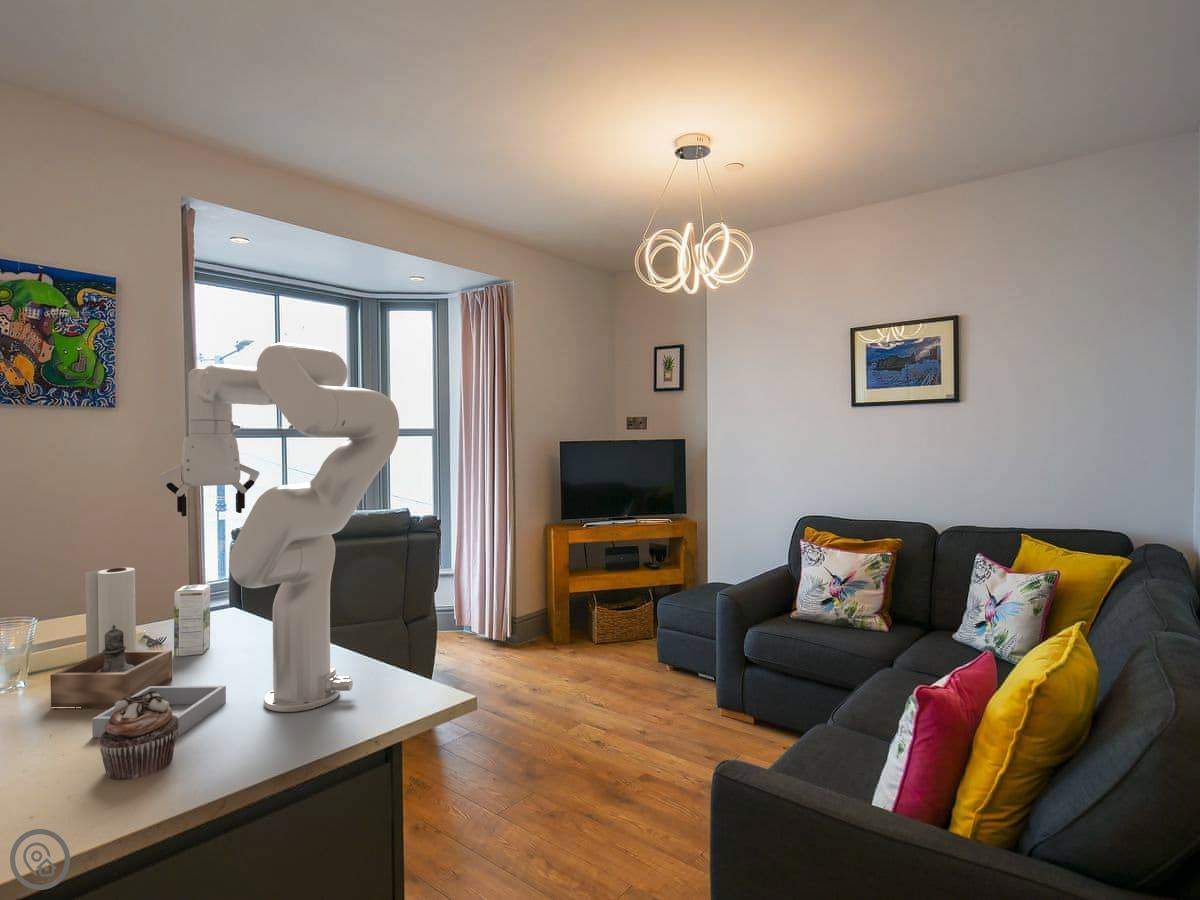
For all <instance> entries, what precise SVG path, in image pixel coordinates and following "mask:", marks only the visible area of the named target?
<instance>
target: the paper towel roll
mask: <svg viewBox="0 0 1200 900" xmlns="http://www.w3.org/2000/svg"><path fill="white" fill-rule="evenodd" d="M136 609H137V608H136V569H135V568H134V567H115V568H107V569H101V570H94V571H89V572H85V630H86V632H85V633H86V635H85V637H86V639H85V640H86V642H85V643H86V659H88V658H90V657H92V656H95V655H97V654H99V653H101V652H102V651H103V650H104V649H105V634H106V632H108V631H110V630H111V629H112V626H113V625H115V626H116V627H115V628H116V629H119V630H122V631H123V633H124V646H125V647H126V649H125V650H124V651H137V633H136V632H137V629H136V627H137V622H136V621H137V619H136V615H137V613H136Z"/></svg>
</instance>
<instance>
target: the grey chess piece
mask: <svg viewBox="0 0 1200 900" xmlns="http://www.w3.org/2000/svg"><path fill="white" fill-rule="evenodd" d="M115 627H116V626H115V625H113V626H112V629H111V630H110V631H108V632H106V634H105V649H104V650H103V651H102V652H103V653H105V662H104V666H103V668H102V669H100V670H98V671H96V673H114V672H125V671H127V670H129V669H131V668H133V667H134V665H131V664H127V663H126V661H125V653H124V650H125V649H126V647H125V646H124V633H123V631H122V630H119V629H116V628H115Z"/></svg>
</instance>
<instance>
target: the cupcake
mask: <svg viewBox="0 0 1200 900" xmlns="http://www.w3.org/2000/svg"><path fill="white" fill-rule="evenodd" d="M162 699H163V697H161V696H160V695H159V694H156V691H150V692H147V693H143V694H140V695H138V696H135V697H126V698H122V700H121V701H118V702H116V703H115V705H114V706H115V710H116V712H115V713H113V714H112V715H111V717H110V719H109V720H108V721H107V723H106V725H105V732H104V733H103V734H102V736H101V737H99V741H98V745H99V751H100V754H101V758H102V762H103V766H104V771H105V773H106V774H105V775H106V776H107V777H108V779H109V778H110V779H112V780H117V781H123V780H124V781H125V780H134V779H138V778H142V777H146V776H149V775H152V774H155V773H156V772H159V771H160V770H162V769H165V768H166V767H168V765H170V764H171V762H172V761H173V758H174V750H175V744H176V741H177V734H178V730H179V727H180V726H179V725H180V724H178V719H177V717H176V716H177V715H174V714H173V710H172V708H171V707H170V704H169V702H168V701H165V700H162Z"/></svg>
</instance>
